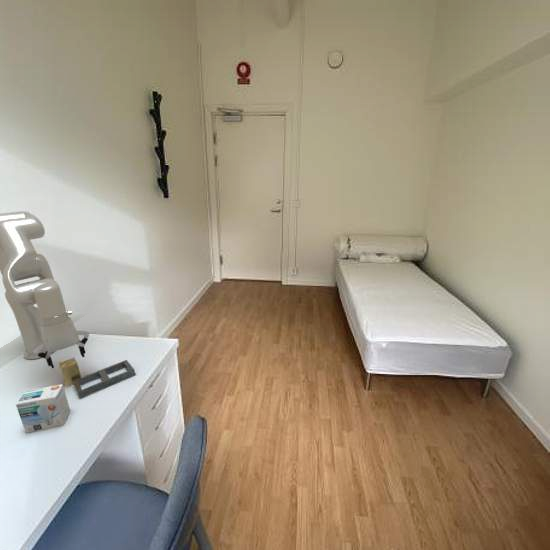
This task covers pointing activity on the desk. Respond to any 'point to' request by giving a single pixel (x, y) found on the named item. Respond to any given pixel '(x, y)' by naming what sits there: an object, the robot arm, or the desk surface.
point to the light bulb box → (43, 408)
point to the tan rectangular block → (70, 371)
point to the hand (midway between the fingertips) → (68, 361)
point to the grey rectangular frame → (103, 378)
